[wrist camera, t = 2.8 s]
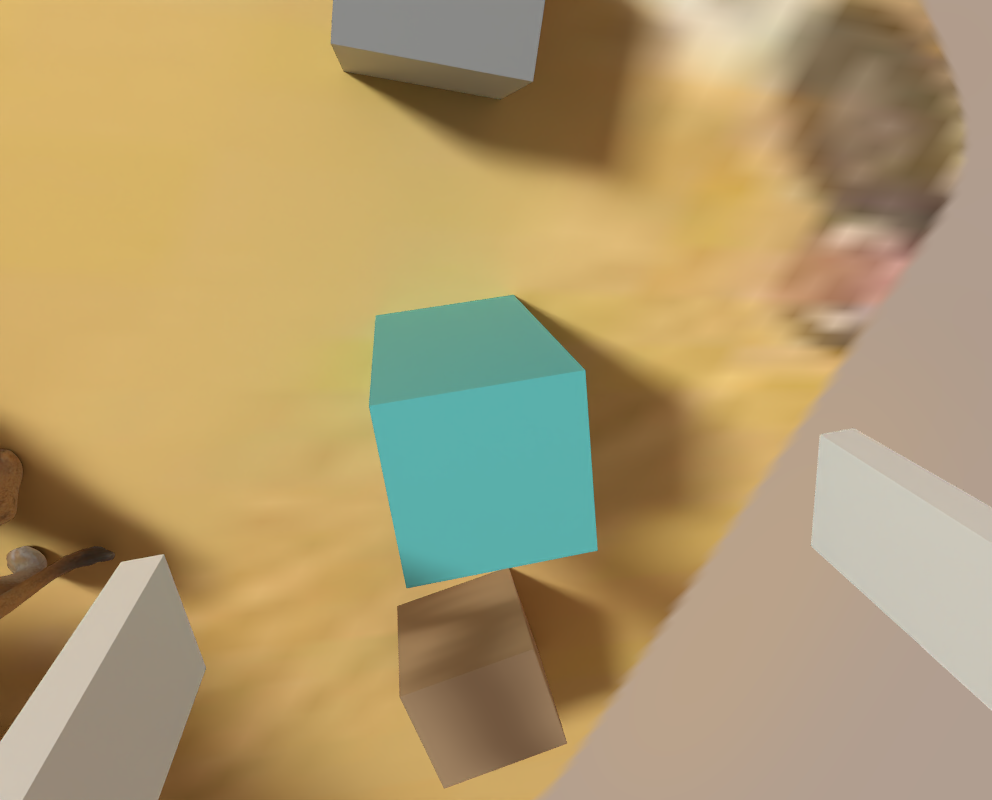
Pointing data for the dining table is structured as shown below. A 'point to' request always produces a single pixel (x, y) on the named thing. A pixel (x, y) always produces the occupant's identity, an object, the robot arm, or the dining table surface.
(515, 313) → the teal block
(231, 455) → the dining table surface
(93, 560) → the lion figurine
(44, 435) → the dining table surface
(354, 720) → the dining table surface
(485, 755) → the walnut block
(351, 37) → the grey block
